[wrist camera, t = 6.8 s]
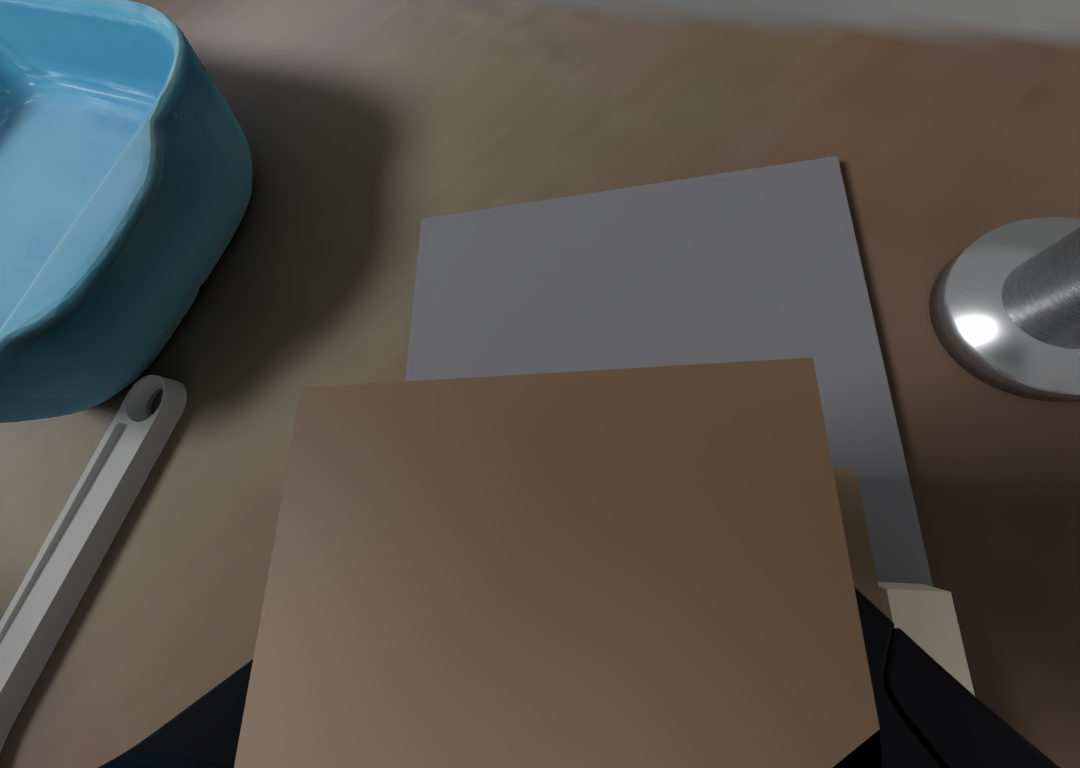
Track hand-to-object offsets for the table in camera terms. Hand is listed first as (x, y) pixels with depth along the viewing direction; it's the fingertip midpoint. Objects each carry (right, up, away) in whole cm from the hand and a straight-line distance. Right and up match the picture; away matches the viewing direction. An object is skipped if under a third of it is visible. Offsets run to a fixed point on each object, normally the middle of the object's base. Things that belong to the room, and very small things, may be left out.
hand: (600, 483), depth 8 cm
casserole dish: (-32, +12, +20) cm, 39 cm away
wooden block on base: (+1, -3, +6) cm, 7 cm away
